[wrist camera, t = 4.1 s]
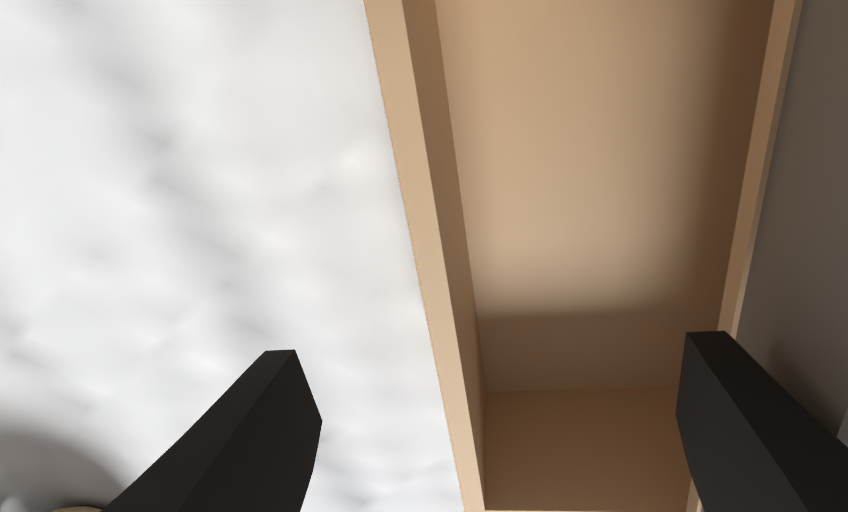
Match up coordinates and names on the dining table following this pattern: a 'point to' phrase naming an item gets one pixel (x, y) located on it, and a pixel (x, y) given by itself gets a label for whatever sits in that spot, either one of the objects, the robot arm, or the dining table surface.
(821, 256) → the carton lid
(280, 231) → the dining table surface
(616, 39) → the carton
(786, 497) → the robot arm
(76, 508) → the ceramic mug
